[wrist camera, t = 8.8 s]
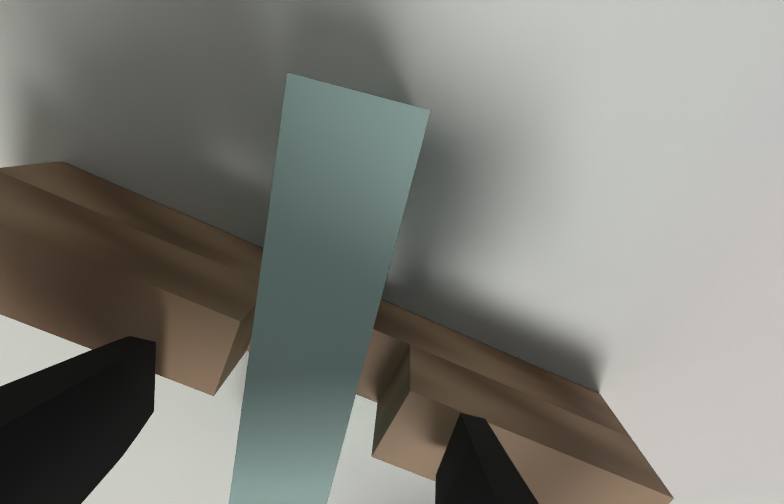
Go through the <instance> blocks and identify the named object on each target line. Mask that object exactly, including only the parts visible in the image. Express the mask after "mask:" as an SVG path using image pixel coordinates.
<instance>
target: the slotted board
mask: <svg viewBox="0 0 784 504" xmlns="http://www.w3.org/2000/svg"><path fill="white" fill-rule="evenodd" d="M262 255H263V248H261V247H258V246H256V245H254V244H251V243H249V242H247V241H244V240H242V239H240V238H237V237H235V236H233V235H230V234H228V233H226V232H223V231H221V230H219V229H217V228H214V227H212V226H210V225H207V224H205V223H203V222H200V221H198V220H196V219H193V218H191V217H189V216H186V215H184V214H182V213H180V212H177V211H175V210H173V209H170V208H168V207H166V206H163V205H161V204H159V203H156V202H154V201H152V200H149V199H147V198H145V197H142V196H140V195H138V194H136V193H133V192H131V191H129V190H126V189H124V188H122V187H119V186H117V185H115V184H112V183H110V182H108V181H105V180H103V179H101V178H98V177H96V176H94V175H92V174H89V173H87V172H85V171H82V170H80V169H78V168H75V167H73V166H71V165H68V164H66V163H64V162H52V163H42V164H33V165H23V166H14V167H4V168H0V314H1V315H4V316H6V317H9V318H12V319H14V320H17V321H19V322H22V323H25V324H27V325H30V326H32V327H35V328H38V329H40V330H43V331H45V332H48V333H51V334H53V335H56V336H59V337H61V338H64V339H66V340H69V341H72V342H74V343H77V344H79V345H82V346H85V347H87V348H90V349H92V350H93V349H96V348H98V347H101V346H103V345H106V344H108V343H111V342H114V341H116V340H119V339H122V338H125V337H128V336H133V337H137V338H141V339H146V340H150V341H154V342H156V361H155V374H158V375H160V376H163V377H165V378H168V379H171V380H173V381H176V382H178V383H181V384H184V385H186V386H189V387H191V388H194V389H197V390H199V391H202V392H204V393H207V394H210V395H212V396H214V395H215V394H216V392H217V391H218V390H219V388H220V387H221V385H222V384H223V383H224V381H225V380H226V378H227V377H228V376H229V374H230V373H231V371H232V370H233V369H234V367H235V366H236V364H237V363H238V362H239V360H240V359H241V358H242V356H243V355H244V353H245V352H246V351H250V344H251V336H252V329H253V322H254V314H255V307H256V300H257V292H258V285H259V277H260V270H261V263H262ZM356 394H357V395H359V396H362V397H364V398H367V399H369V400H372V401H374V402H377V403H378V404H377V413H376V421H375V430H374V439H373V448H372V457H374V458H376V459H379V460H382V461H384V462H387V463H389V464H392V465H395V466H397V467H400V468H402V469H405V470H408V471H410V472H413V473H415V474H418V475H421V476H423V477H426V478H429V479H431V480H434V481H436V473H437V470H438V468H439V465H440V463H441V460H442V458H443V455H444V453H445V450H446V448H447V445H448V443H449V440H450V437H451V435H452V432H453V430H454V427H455V425H456V422H457V420H458V417H459V415H460V413H464V414H468V415H472V416H477V417H481V418H485V419H486V421H487V422H488V424H489V425H490V427H491V428H492V430H493V432H494V433H495V435H496V436H497V438H498V440H499V441H500V443H501V445H502V446H503V448H504V449H505V451H506V453H507V454H508V456H509V457H510V459H511V461H512V462H513V464H514V465H515V467H516V469H517V470H518V472H519V473H520V475H521V477H522V478H523V480H524V481H525V483H526V484H527V486H528V488H529V489H530V491H531V492H532V494H533V495H534V497H535V498H536V500H537V501H538V503H539V504H669V503H670V502H671V501H672V500H673V499H674V498H673V496H672V495H671V494H670V492H669V491H668V489H667V488H666V487H665V485H664V484H663V482H662V481H661V479H660V478H659V477H658V475H657V474H656V472H655V471H654V470H653V468H652V467H651V465H650V464H649V463H648V461H647V460H646V458H645V457H644V455H643V454H642V453H641V451H640V450H639V448H638V447H637V446H636V444H635V443H634V441H633V440H632V439H631V437H630V436H629V434H628V433H627V432H626V430H625V429H624V427H623V426H622V424H621V423H620V422H619V420H618V419H617V417H616V416H615V415H614V413H613V412H612V410H611V409H610V408H609V406H608V405H607V403H606V402H605V400H604V399H603V398H602V396H601V395H600V394H598V393H596V392H594V391H592V390H589V389H587V388H585V387H582V386H580V385H578V384H575V383H573V382H571V381H568V380H566V379H564V378H561V377H559V376H557V375H555V374H552V373H550V372H548V371H545V370H543V369H541V368H538V367H536V366H534V365H531V364H529V363H527V362H524V361H522V360H520V359H517V358H515V357H513V356H511V355H508V354H506V353H504V352H501V351H499V350H497V349H494V348H492V347H490V346H487V345H485V344H483V343H480V342H478V341H476V340H473V339H471V338H469V337H467V336H464V335H462V334H460V333H457V332H455V331H453V330H450V329H448V328H446V327H443V326H441V325H439V324H436V323H434V322H432V321H430V320H427V319H425V318H423V317H420V316H418V315H416V314H413V313H411V312H409V311H406V310H404V309H402V308H399V307H397V306H395V305H392V304H390V303H388V302H386V301H383V300H381V301H380V304H379V308H378V312H377V316H376V320H375V323H374V327H373V331H372V335H371V338H370V342H369V346H368V350H367V354H366V357H365V361H364V365H363V369H362V372H361V376H360V380H359V384H358V388H357V391H356Z"/></svg>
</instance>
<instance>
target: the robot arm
mask: <svg viewBox="0 0 784 504" xmlns="http://www.w3.org/2000/svg"><path fill="white" fill-rule="evenodd" d="M155 361H156V342H154V341H150V340H146V339H141V338H137V337H133V336H128V337H125V338H122V339H119V340H116V341H114V342H111V343H108V344H106V345H103V346H101V347H98V348H96V349H93V350H91V351H88V352H86V353H83V354H81V355H78V356H76V357H73V358H71V359H68V360H66V361H63V362H61V363H58V364H56V365H53V366H51V367H48V368H46V369H43V370H41V371H38V372H36V373H33V374H31V375H28V376H26V377H23V378H21V379H18V380H15V381H13V382H10V383H8V384H5V385H3V386H0V504H81V503H82V502H83V501H84V500H85V499H86V498H87V496H88V495H89V494H90V493H91V492H92V491H93V490H94V488H95V487H96V486H97V485H98V484H99V483H100V481H101V480H102V479H103V478H104V477H105V476H106V475H107V473H108V472H109V471H110V470H111V469H112V468H113V467H114V465H115V464H116V463H117V462H118V461H119V459H120V458H121V457H122V456H123V455H124V453H125V452H126V450H127V449H128V448H129V446H130V445H131V444H132V442H133V441H134V439H135V438H136V437H137V435H138V434H139V432H140V431H141V429H142V428H143V427H144V425H145V424H146V422H147V421H148V419H149V418H150V416H151V415H152V413H153V412H154V391H155ZM435 504H539V503H538V501H537V500H536V498H535V497H534V495H533V494H532V492H531V491H530V489H529V488H528V486H527V484H526V483H525V481H524V480H523V478H522V477H521V475H520V473H519V472H518V470H517V469H516V467H515V465H514V464H513V462H512V461H511V459H510V457H509V456H508V454H507V453H506V451H505V449H504V448H503V446H502V445H501V443H500V441H499V440H498V438H497V436H496V435H495V433H494V432H493V430H492V428H491V427H490V425H489V424H488V422H487V421H486V419H485V418H481V417H477V416H472V415H468V414H464V413H460V415H459V417H458V420H457V422H456V425H455V427H454V430H453V432H452V435H451V437H450V440H449V443H448V445H447V448H446V450H445V453H444V455H443V458H442V460H441V463H440V465H439V468H438V470H437V473H436V495H435Z"/></svg>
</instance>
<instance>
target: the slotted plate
mask: <svg viewBox="0 0 784 504" xmlns="http://www.w3.org/2000/svg"><path fill="white" fill-rule="evenodd" d="M430 112H431V110H427V109H423V108H420V107H416V106H412V105H408V104H405V103H401V102H397V101H393V100H390V99H386V98H382V97H378V96H374V95H371V94H367V93H363V92H359V91H356V90H352V89H348V88H344V87H341V86H337V85H333V84H329V83H325V82H322V81H318V80H314V79H310V78H307V77H303V76H299V75H295V74H292V73H288V72H287V78H286V85H285V93H284V100H283V107H282V115H281V122H280V130H279V137H278V144H277V152H276V159H275V167H274V174H273V181H272V189H271V196H270V203H269V211H268V218H267V226H266V233H265V240H264V248H263V255H262V263H261V270H260V277H259V285H258V292H257V300H256V307H255V314H254V322H253V329H252V336H251V344H250V351H249V359H248V366H247V373H246V381H245V388H244V396H243V403H242V410H241V418H240V425H239V433H238V440H237V447H236V455H235V462H234V469H233V477H232V484H231V492H230V499H229V504H327V501H328V497H329V494H330V490H331V486H332V482H333V478H334V475H335V471H336V467H337V463H338V459H339V456H340V452H341V448H342V444H343V441H344V437H345V433H346V429H347V425H348V422H349V418H350V414H351V410H352V407H353V403H354V399H355V395H356V391H357V388H358V384H359V380H360V376H361V372H362V369H363V365H364V361H365V357H366V354H367V350H368V346H369V342H370V338H371V335H372V331H373V327H374V323H375V320H376V316H377V312H378V308H379V304H380V301H381V297H382V293H383V289H384V286H385V282H386V278H387V274H388V270H389V267H390V263H391V259H392V255H393V251H394V248H395V244H396V240H397V236H398V233H399V229H400V225H401V221H402V217H403V214H404V210H405V206H406V202H407V199H408V195H409V191H410V187H411V183H412V180H413V176H414V172H415V168H416V164H417V161H418V157H419V153H420V149H421V146H422V142H423V138H424V134H425V130H426V127H427V123H428V119H429V115H430Z"/></svg>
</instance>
